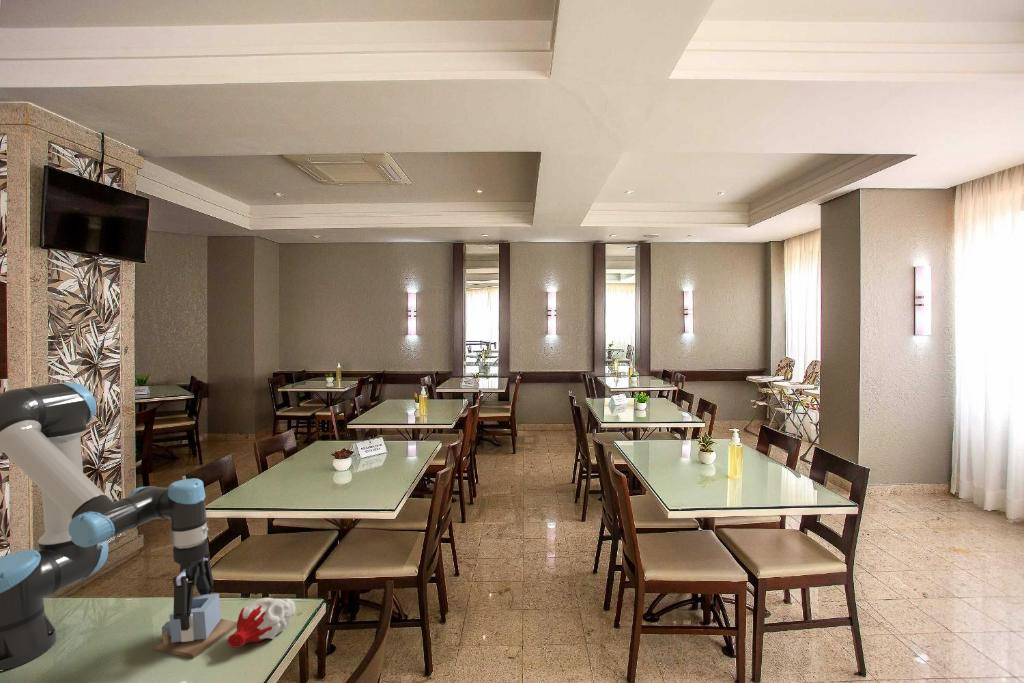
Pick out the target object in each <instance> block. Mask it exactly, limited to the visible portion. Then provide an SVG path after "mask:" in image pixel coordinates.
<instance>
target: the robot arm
mask: <svg viewBox="0 0 1024 683" xmlns="http://www.w3.org/2000/svg"><path fill="white" fill-rule="evenodd" d="M96 413H97V402H96V399H95V397H94V395H93V394H92V392H91V391H90V390H89V389H87V387H85V385H83V384H81V383H77V382H58V383H57V382H56V383H51V384H50V383H49V384H44V385H42V384H41V385H38V386H37V385H36V386H30V387H22V388H12V389H8V390H6V391H2V392H1V393H0V453H1V454H5V456H7V457H8V458H9V459H10V461H12V462H13V464H15V465H16V466H17V467H18V468H19V469H20V470H21V471H22V472H23V473H24V474H25V475H26V476H27V477H28V478H29V479H30V480H31V481H32V482H33V483H34V484H35V485H36V486H37V487H38V488H39V489H40V490H41V500H42V511H43V521H44V523H43V524H44V533H43V534H42V535H41V536H40V538H39V539H38V541H37V544H38V550H36V549H24V550H19V551H16V552H14V553H9V554H6V555H3V556H0V670H5V669H8V670H10V669H9V668H11V669H14V668H16V667H20V666H22V665H24V664H26V663H28V662H30V661H32V660H34V659H36V658H39V657H40V656H42V655H43V654H45V653H46V652H47V651H48V649H49V648H50V649H51V648H52V647H53V646H54V645H55V644H56V642H57V639H56V638H57V631H56V627H54V624H53V623H52V622H51V621H52V620H50V618H49V616H47V614H46V611H45V599H46V598H47V597H49V596H51V595H53V594H55V593H57V592H59V591H62V590H63V589H65V588H67V587H70V586H71V585H73V584H75V583H78V582H80V581H83V580H85V579H87V578H88V577H89V576H91V575H93V574H95V573H96V572H98V571H99V570H100V569H101V568H102V567H103V566H104V565H105V562H106V561H107V559H108V555H109V542H108V541H109V540H110V539H112V538H114V537H116V536H119V535H121V534H123V533H124V532H127V531H130V530H132V529H135V528H137V527H139V526H141V525H143V524H145V523H148V522H151V521H153V520H156V519H158V520H160V519H161V520H170V530H171V544H172V546H173V547H172V556H173V559H172V560H173V562H174V563H176V564H178V565H179V566H180V567H179V575H178V576H174V577H173V579H172V584H173V610H174V616H173V618H174V620H175V619H180V628H181V642H187V641H194V639H195V634H194V621H193V613H192V614H191V607H192V599H193V596H194V590H195V587H196V589H197V591H198V595H197V596H199V595H209V594H214V590H215V589H214V588H213V586H214V579H213V574H212V573H213V572H212V566H211V554H210V551H209V549H210V548H209V540H208V531H209V527H208V525H207V510H206V508H207V507H206V492H205V487H204V481H203V480H201V479H199V478H193V477H192V478H185V479H181V480H180V479H179V480H177V481H174V482H172V483H170V484H169V485H168V487H160V486H155V485H154V486H151V485H150V486H148V485H147V486H139V487H137V488H135V489H133V490H132V491H131V492H130V493H129V494H128V495H127V497H124V498H121V499H119V500H116V501H113V500H112V499H111V498H110V497H108V496H107V495H106V494H105V493H104V492H103V491H102V489H100V488H99V487H98V486H97V485H96V484H95V483H94V482H93V480H91V479H90V478H89V477H88V476H87V475H86V474H85V473H84V468H83V467H84V466H83V456H82V455H83V454H82V446H81V443H82V442H81V437H82V436H83V435H84V434H85V433H86V432H87V428H88V427H87V423H89V422H91V420H93V419H94V417H95V415H96ZM54 643H55V644H54ZM53 644H54V645H53ZM52 645H53V646H52ZM51 646H52V647H51ZM50 649H49V650H50ZM5 671H6V670H5Z"/></svg>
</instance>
